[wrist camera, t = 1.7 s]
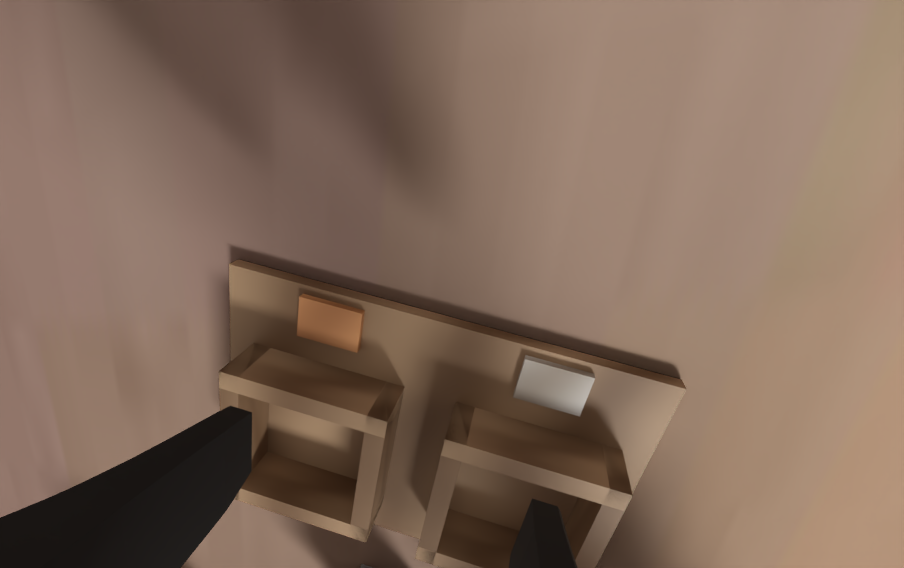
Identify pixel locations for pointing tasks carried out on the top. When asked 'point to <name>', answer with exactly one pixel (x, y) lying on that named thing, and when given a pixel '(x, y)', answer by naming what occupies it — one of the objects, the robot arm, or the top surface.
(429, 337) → the socket board
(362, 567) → the plug
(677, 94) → the top surface
